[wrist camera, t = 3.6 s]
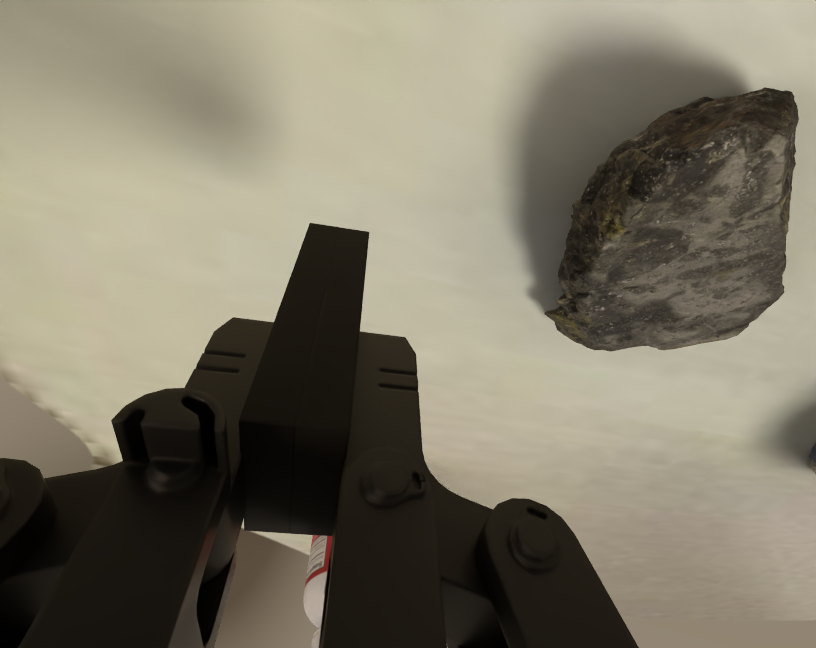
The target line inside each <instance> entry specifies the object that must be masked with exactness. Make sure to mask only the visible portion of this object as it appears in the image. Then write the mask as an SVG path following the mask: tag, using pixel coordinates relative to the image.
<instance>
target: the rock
mask: <svg viewBox="0 0 816 648" xmlns="http://www.w3.org/2000/svg"><path fill="white" fill-rule="evenodd" d="M798 120H799V119H798V110H797V105H796V103H795V101H794V96H793V94H792V92H790V91H779V90H775V89H770V88H763V89H761V90H758V91H754V92H753V91H752V92H750V93H746V94H743V95H739V96H733V97H724V98H720V99H711V98H708V97H704V98H700V99H698V100H695V101H693V102H692V103H690V104H688V105H687V106H685V107H682V108H678V109H675V110H672V111H669V112H668V113H666V114H664V115H662V116H660V117H659V118H658V119H657V120H656V121H654V122H652V123H651V124H650V125H649V127H648V128H647V130H645V131H643V132H642V133H640V134H639V135H637V136H636V137H634V138H633V139H631V140H627V141H625V142H623V143H622V144H621V145H619V146H618V147H617V148H615V150H614V151H613V152H612V153H611V155H610V157H609V159H608V160H607V162H606V163H605V164H602V165H600V166H599V167H598V168H597V170H596V172H595V174H594V175H593V176H592V177H591V178H590V179H589V181H588V184H587V186H586V188H585V190H584V192H583V195H582V197H581V198H580V199H578V200H576V201H575V202H574V203H573V205H572V207H573V215H572V216H571V217H572V219H573V221H572V226H571V229H570V231H569V233H568V236H567V239H566V250H565V253H564V258H563V259H562V261H561V264H560V267H559V271H558V279H559V283H560V284H561V286H562V290H563V293H564V294H563V296H561V297H560V298H559V299H558V300H557V301H556V302H557V304H559V305H560V307H559V308H557V309H556V310H550V311H546V312H545V315H547V316H548V317H549V318H551V319H552V320H554V321H555V325H556V328H557V330H558V331H560V332H561V333H562V334H564V335H565V336H567V337H568V338H570V339H571V340H573V341H574V342H576V343H579V344H582V345H584V346H586V347H587V348H590V349H593V350H606V351H615V350H620V349H625V348H630V347H637V346H650V347H654V348H658V349H659V350H669V349H676V348H682V347H687V346H691V345H696V344H700V343H706V342H713V341H719V340H725V339H728V338H731V337H734V336H737V335H738V334H739V333H741V332H742V331H743V330H744V329H745V328H747V327H748V326H749V323H750V322H752V321H754V320H755V319H757V318H758V317H759V316H760V314H761V313H763V312H764V311H765V310H766V309H767V308H768V307H769V306H771V305H772V304H773V303H774V302H775V301H777V300H778V299H779V298H780V297H781V295H782V294H783V293H784V286H783V284H782V274H783V272H784V270H785V268H786V255H785V251H786V234H787V232H788V221H789V209H790V199H791V197H790V196H791V191H792V186H791V185H792V176H793V170H794V167H795V164H796V163H795V158H794V155H795V152H796V150H795V144H794V142H795V130H796V126H797V123H798Z"/></svg>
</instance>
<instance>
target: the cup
mask: <svg viewBox="0 0 816 648" xmlns="http://www.w3.org/2000/svg"><path fill="white" fill-rule="evenodd" d="M809 464H810V467H811V468H812V469H813V470H814V471H815V473H816V444H815V445H814V447H813V448H812V450H811V452H810V455H809Z"/></svg>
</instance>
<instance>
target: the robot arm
mask: <svg viewBox="0 0 816 648" xmlns="http://www.w3.org/2000/svg"><path fill="white" fill-rule="evenodd" d="M368 239H369V232H365V231H359V230H352V229H346V228H339V227H333V226H326V225H320V224H313V223H310V224H309V227H308V230H307V233H306V236H305V238H304V241H303V244H302V247H301V249H300V252H299V255H298V258H297V260H296V263H295V266H294V269H293V272H292V274H291V277H290V280H289V283H288V285H287V288H286V291H285V294H284V296H283V299H282V302H281V305H280V307H279V310H278V313H277V316H276V319H275V321H274V322H265V321H257V320H249V319H241V318H232V319H230V320H229V321H228V322H226V323H225V324H224V325H222V326H221V327H220V328H218V329H217V330H216V331H214V333H213V335H212V337H211V339H210V341H209V343H208V344H207V346H206V348H205V352H204V353H203V354H202V356H201V358H200V360H199V361H198V363H197V367H196V369H194V371H193V373H192V375H191V377H190V378H189V380H188V382H187V384H186V386H185V388H173V389H164V390H160V391H157V392H153V393H149V394H146V395H144V396H142V397H140V398H138V399H136V400H135V401H133V402H131V403H129V404H128V405H126V406H125V407H124V408H123V409H122V410H121V411H120V412H119V413H118V414H117V415H116V416H115V417H114V418H113V419H112V420H111V421H112V424H113V428H114V431H115V435H116V438H117V442H118V445H119V448H120V452H121V455H122V459H123V461H122V462H119V463H117V464H115V465H111V466H107V467H104V468H100V469H96V470H90V471H84V472H78V473H73V474H67V475H61V476H56V477H51V478H45V479H44V478H43V476H42V474H41V472H40V469H38V468H36V467H35V466H33V465H31V464H30V463H28V462H26V461H24V460H15V459H6V458H1V459H0V648H214V645H215V641H216V637H217V634H218V630H219V627H220V623H221V619H222V616H223V611H224V608H225V604H226V601H227V597H228V593H229V590H230V586H231V582H232V579H233V575H234V571H235V567H236V554H237V553H236V552H237V551H236V543H237V539H238V536H239V533H240V529H241V525H242V522H243V518H244V530H247V531H262V532H276V533H291V534H306V535H321V536H332V540H331V549H330V557H329V564H328V570H327V577H326V583H325V590H324V594H325V595H324V604H323V613H322V622H321V630H320V639H319V648H447V646H448V648H639V647H638V646H637V644H636V642H635V640H634V639H633V637H632V635H631V633H630V632H629V630H628V628H627V627H626V624H625V623H624V621H623V619H622V617H621V616H620V614H619V612H618V610H617V608H616V607H615V605H614V603H613V601H612V600H611V598H610V596H609V594H608V593H607V591H606V589H605V587H604V586H603V584H602V582H601V580H600V578H599V577H598V575H597V573H596V571H595V570H594V568H593V566H592V564H591V563H590V561H589V559H588V557H587V555H586V554H585V552H584V550H583V548H582V547H581V545H580V543H579V541H578V540H577V538H576V536H575V534H574V533H573V532H572V530H571V529H570V528H569V526H568V525H567V524H566V522H565V521H564V520H563V519H562V518H561V517H560V516H559V515H557V514H556V513H555V512H554V511H552V510H551V509H550V508H548V507H547V506H545V505H543V504H540V503H538V502H535V501H532V500H530V499H516V498H512V499H509V500H507V501H504V502H502V503H499V504H498V505H497V506H496V507H495V508H494V509H490V508H488V507H485V506H483V505H480V504H478V503H475V502H473V501H470V500H468V499H465V498H463V497H460V496H458V495H457V494H455V493H453V492H451V491H449V490H448V489H446V488H445V487H444V486H443V485H441V484H440V483H439V482H438V481H437V480H436V479H435V477H434V476H433V475H432V474H431V473H430V471H429V469H428V467H427V465H426V463H425V461H424V456H423V451H422V438H421V423H420V408H419V393H418V379H417V364H416V354H415V352H414V350H413V349H412V347H411V346H410V344H409V343H408V341H407V339H406V338H405V337H398V336H390V335H382V334H374V333H366V332H360V322H361V312H362V301H363V291H364V280H365V270H366V260H367V249H368ZM446 643H447V644H446Z"/></svg>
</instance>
